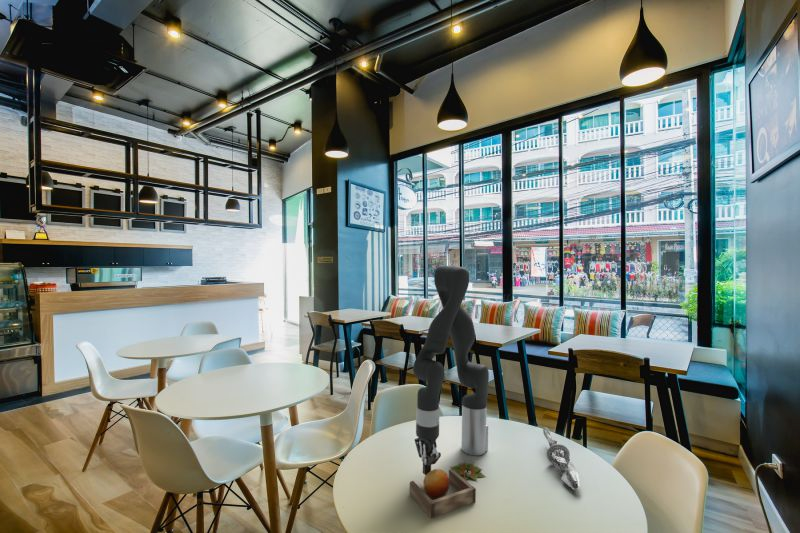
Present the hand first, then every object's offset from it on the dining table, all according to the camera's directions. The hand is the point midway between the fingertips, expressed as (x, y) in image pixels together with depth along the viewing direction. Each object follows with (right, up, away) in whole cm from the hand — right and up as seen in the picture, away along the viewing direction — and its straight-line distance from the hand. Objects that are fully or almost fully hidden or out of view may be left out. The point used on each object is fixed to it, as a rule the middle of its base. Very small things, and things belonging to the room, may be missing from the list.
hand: (426, 474), depth 120 cm
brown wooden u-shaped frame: (+4, -3, -8) cm, 9 cm away
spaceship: (+48, -4, +13) cm, 50 cm away
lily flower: (+15, -4, +7) cm, 17 cm away
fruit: (+3, -3, -5) cm, 7 cm away
